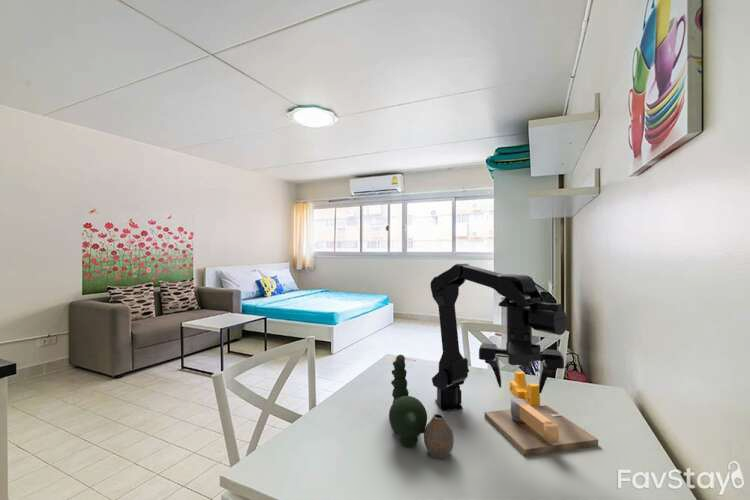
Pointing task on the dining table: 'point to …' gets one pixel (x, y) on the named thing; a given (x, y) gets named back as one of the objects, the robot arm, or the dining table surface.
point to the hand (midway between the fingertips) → (519, 389)
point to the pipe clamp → (525, 390)
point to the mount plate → (531, 440)
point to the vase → (438, 437)
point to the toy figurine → (405, 408)
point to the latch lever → (534, 419)
